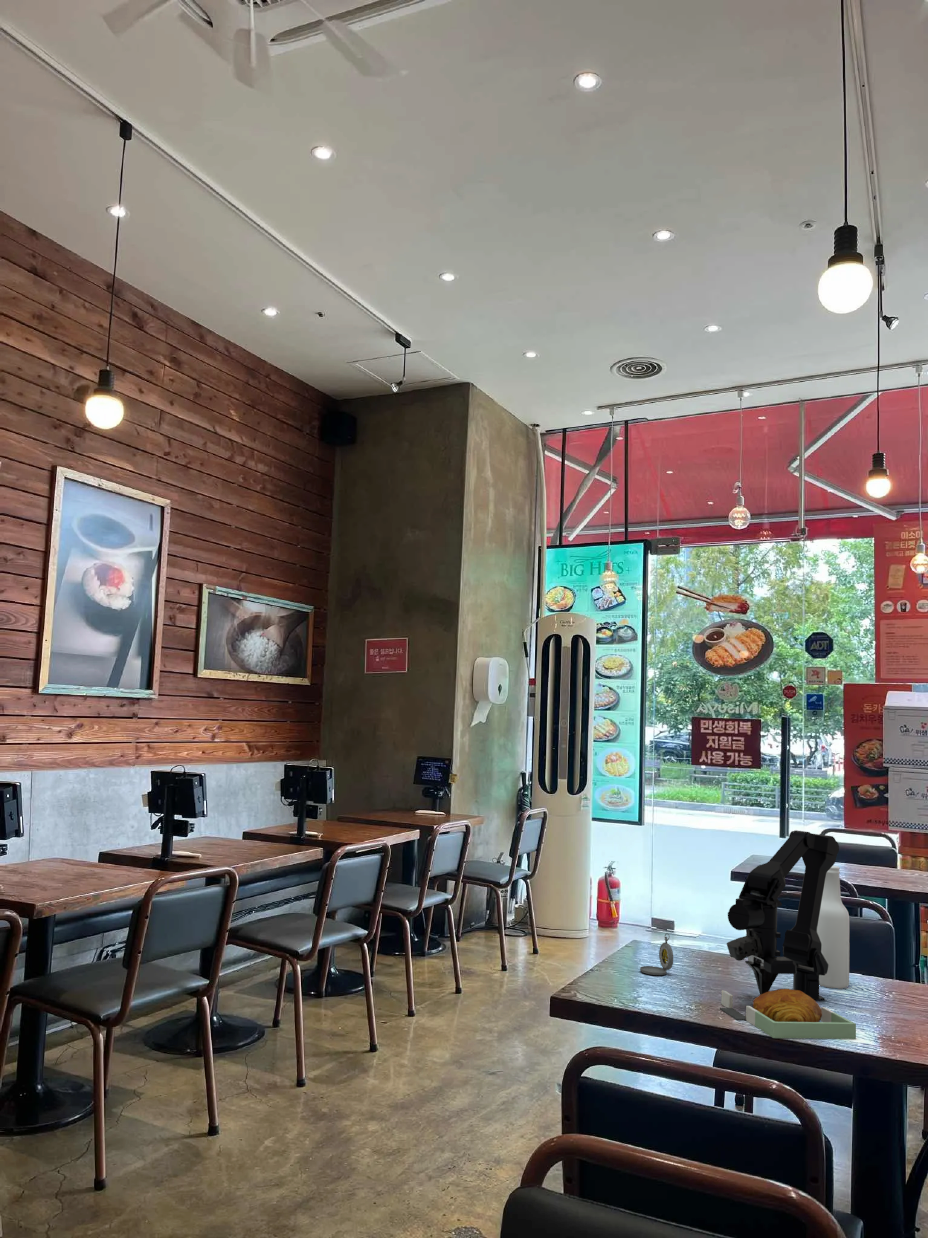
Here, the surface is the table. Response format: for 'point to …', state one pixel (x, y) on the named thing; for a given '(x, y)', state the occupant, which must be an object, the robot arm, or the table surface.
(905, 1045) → the table surface
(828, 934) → the white bottle
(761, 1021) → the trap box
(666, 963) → the pocket watch
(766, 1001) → the croissant
